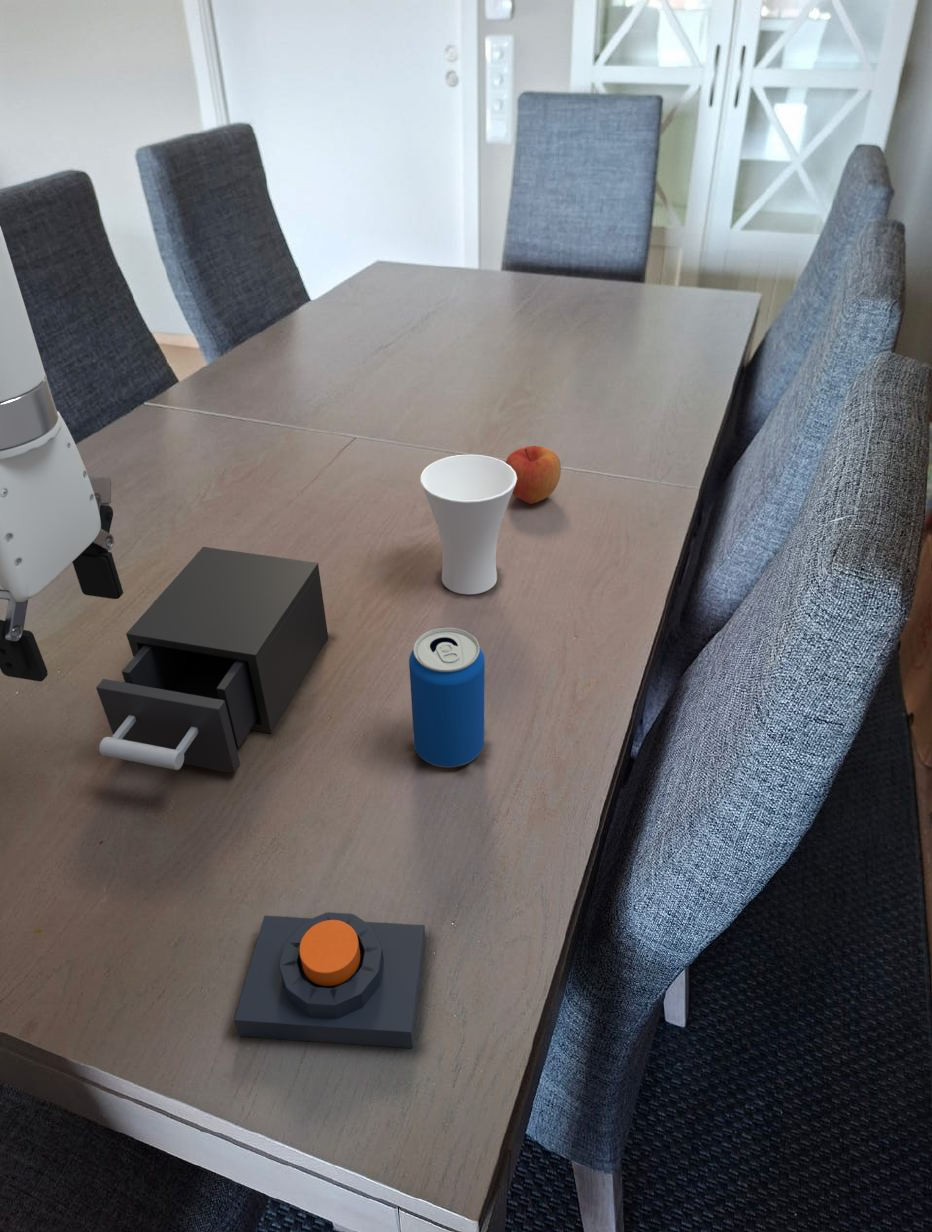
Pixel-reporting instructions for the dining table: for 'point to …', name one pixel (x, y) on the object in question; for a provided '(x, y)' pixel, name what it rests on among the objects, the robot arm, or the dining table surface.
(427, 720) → the beverage can
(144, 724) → the drawer
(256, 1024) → the control block
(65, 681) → the dining table surface
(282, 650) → the black cabinet
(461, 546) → the cup
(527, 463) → the apple
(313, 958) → the button
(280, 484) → the dining table surface
